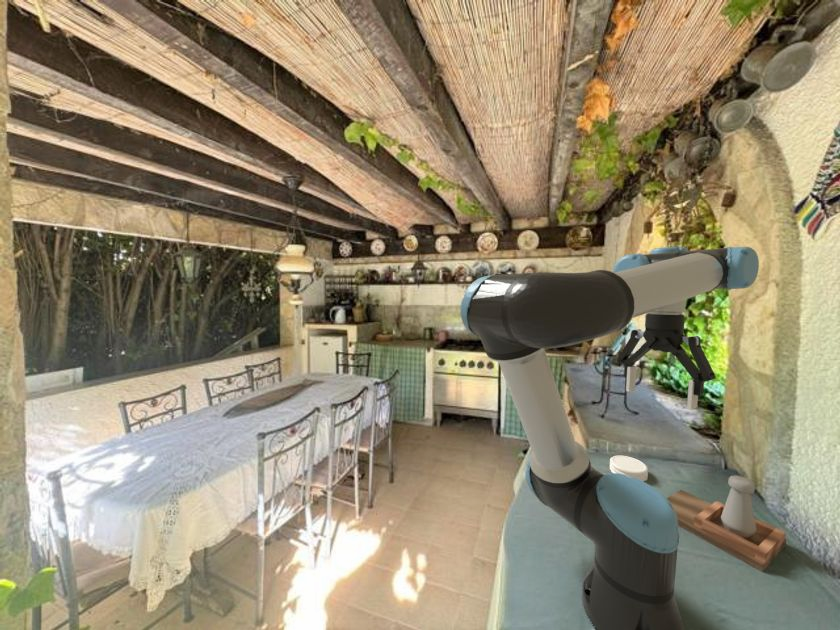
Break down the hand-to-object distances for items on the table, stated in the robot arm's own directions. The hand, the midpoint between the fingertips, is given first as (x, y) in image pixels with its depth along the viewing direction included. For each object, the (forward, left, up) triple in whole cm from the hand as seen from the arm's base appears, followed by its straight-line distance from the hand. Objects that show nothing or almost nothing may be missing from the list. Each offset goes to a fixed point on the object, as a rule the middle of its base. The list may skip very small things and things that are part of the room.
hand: (658, 398), depth 79 cm
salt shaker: (+9, -14, -29) cm, 33 cm away
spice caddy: (+9, -10, -31) cm, 33 cm away
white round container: (+14, +13, -31) cm, 36 cm away
